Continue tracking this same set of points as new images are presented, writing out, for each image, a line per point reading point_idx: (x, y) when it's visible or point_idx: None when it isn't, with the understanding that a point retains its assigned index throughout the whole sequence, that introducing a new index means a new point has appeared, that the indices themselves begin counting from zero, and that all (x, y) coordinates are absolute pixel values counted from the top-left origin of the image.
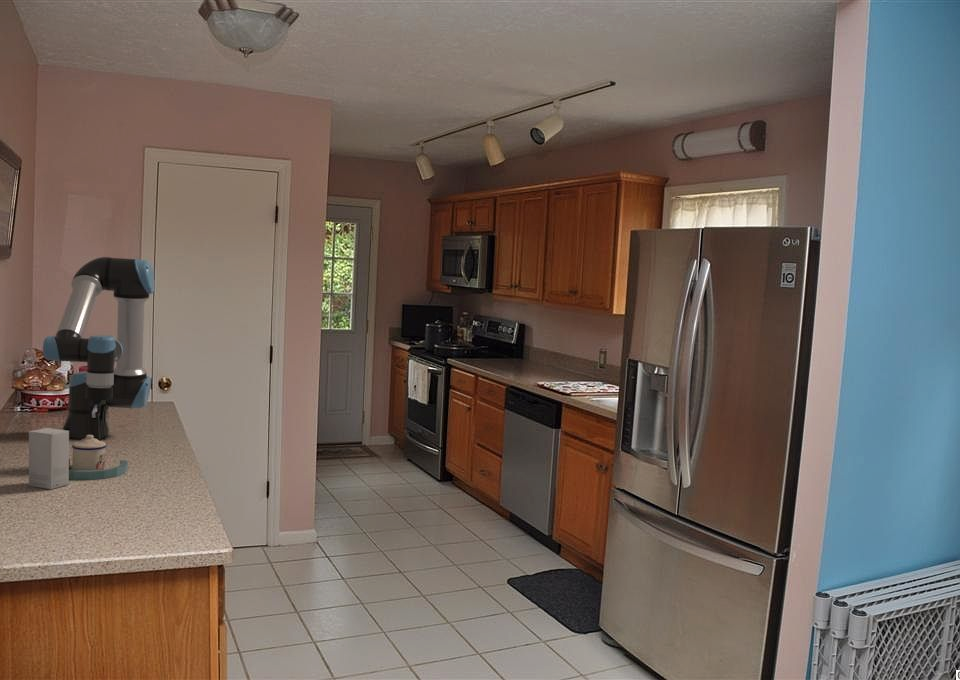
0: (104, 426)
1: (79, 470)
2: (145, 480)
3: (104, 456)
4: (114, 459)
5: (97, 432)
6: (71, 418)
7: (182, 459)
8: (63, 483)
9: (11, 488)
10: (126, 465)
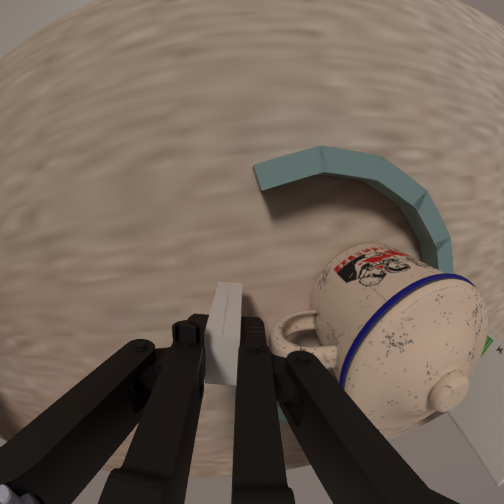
0: (109, 387)
1: None
2: (442, 96)
3: (416, 262)
4: (102, 239)
5: (344, 401)
6: None
7: (114, 3)
8: None
9: None
10: (353, 152)
